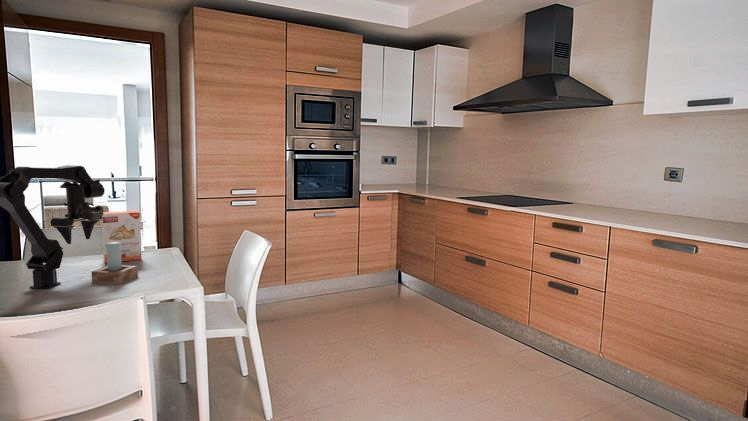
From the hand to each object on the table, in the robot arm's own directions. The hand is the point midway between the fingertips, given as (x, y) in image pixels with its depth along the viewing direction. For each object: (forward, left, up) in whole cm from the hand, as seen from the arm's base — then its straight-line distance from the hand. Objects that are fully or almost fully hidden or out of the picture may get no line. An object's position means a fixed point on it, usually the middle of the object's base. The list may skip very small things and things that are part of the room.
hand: (78, 241), depth 172 cm
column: (-2, -15, -12) cm, 20 cm away
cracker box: (+24, 0, -13) cm, 27 cm away
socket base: (-2, -15, -13) cm, 20 cm away
